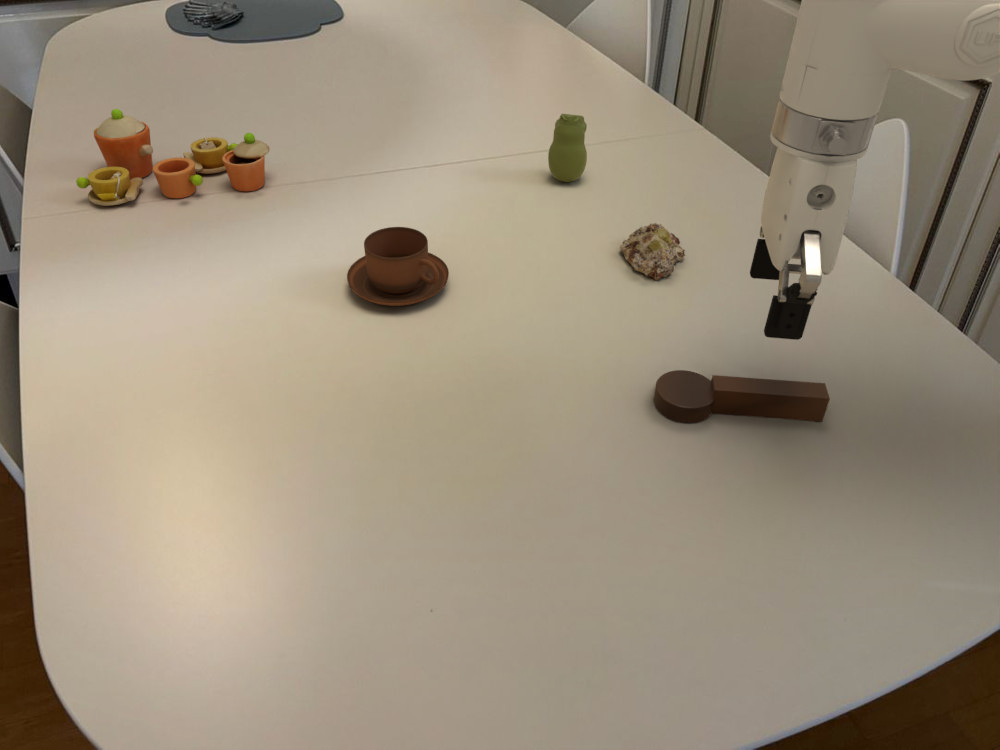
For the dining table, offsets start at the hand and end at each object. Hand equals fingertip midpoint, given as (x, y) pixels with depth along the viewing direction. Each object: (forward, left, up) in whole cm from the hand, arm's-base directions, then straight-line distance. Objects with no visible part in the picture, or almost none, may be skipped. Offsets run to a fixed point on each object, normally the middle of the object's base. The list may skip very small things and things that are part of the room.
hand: (773, 305), depth 78 cm
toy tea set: (+86, +9, -12) cm, 88 cm away
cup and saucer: (+42, +8, -12) cm, 45 cm away
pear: (+45, -29, -12) cm, 55 cm away
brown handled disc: (+1, +1, -12) cm, 12 cm away
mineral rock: (+23, -18, -12) cm, 32 cm away
